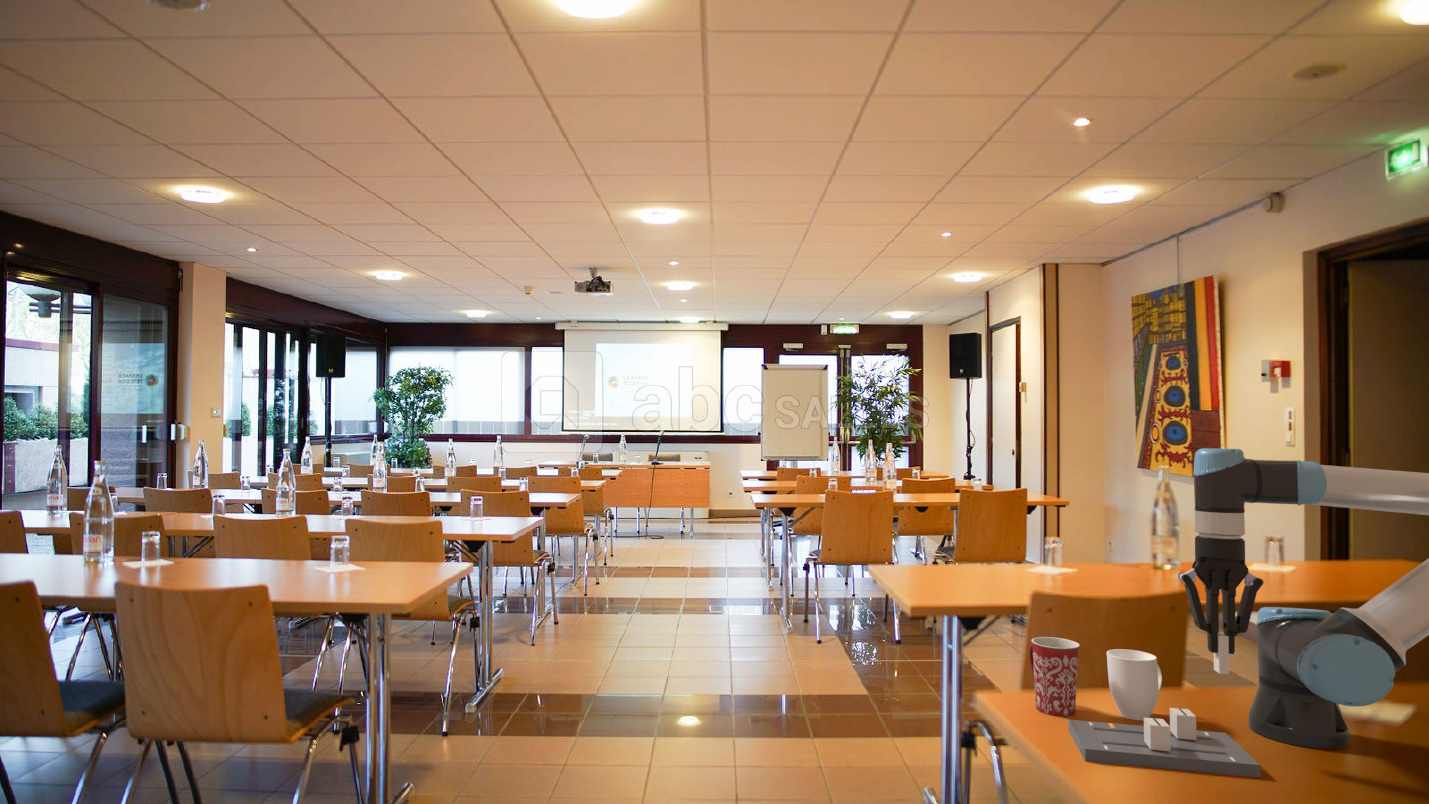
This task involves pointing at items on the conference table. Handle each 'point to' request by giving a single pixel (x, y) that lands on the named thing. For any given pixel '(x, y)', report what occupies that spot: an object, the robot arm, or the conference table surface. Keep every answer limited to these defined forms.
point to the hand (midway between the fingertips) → (1221, 671)
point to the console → (1188, 755)
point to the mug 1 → (1055, 674)
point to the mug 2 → (1134, 682)
